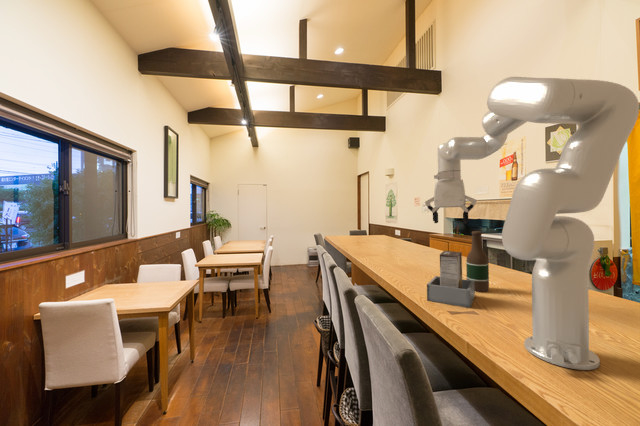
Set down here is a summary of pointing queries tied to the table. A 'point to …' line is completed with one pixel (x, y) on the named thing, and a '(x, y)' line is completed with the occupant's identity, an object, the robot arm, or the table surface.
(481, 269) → the beer bottle
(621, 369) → the table surface
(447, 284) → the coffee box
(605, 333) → the table surface
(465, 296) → the bin
